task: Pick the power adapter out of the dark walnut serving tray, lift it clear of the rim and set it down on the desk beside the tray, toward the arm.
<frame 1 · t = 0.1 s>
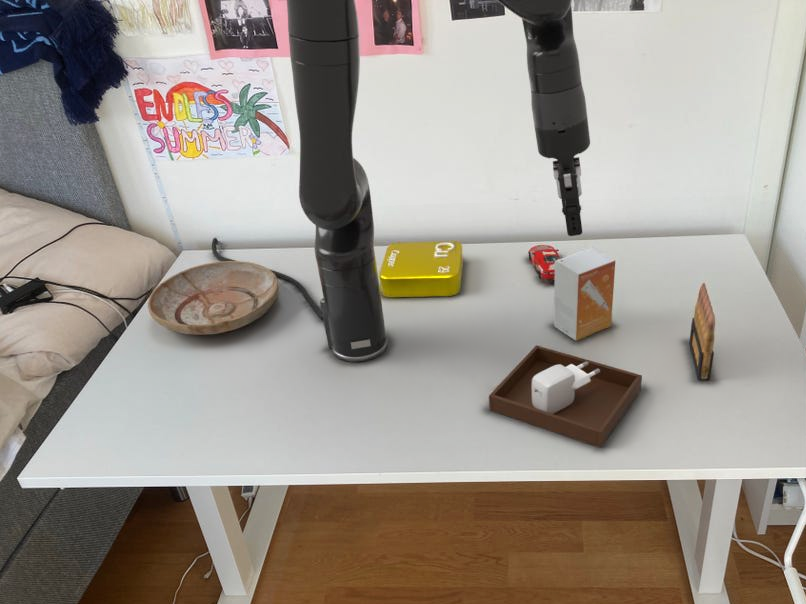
hand: (574, 222, 119), 22 cm above the table, tool pointing down, fingers open, 8 cm apart
power adapter: (565, 399, 119), resting on tray
race car: (547, 269, 154), on the table
ceramic bowl: (220, 314, 146), on the table
ammunition clip: (699, 362, 126), on the table
small box: (582, 327, 136), on the table
tray: (565, 400, 119), on the table
element tile: (423, 279, 153), on the table
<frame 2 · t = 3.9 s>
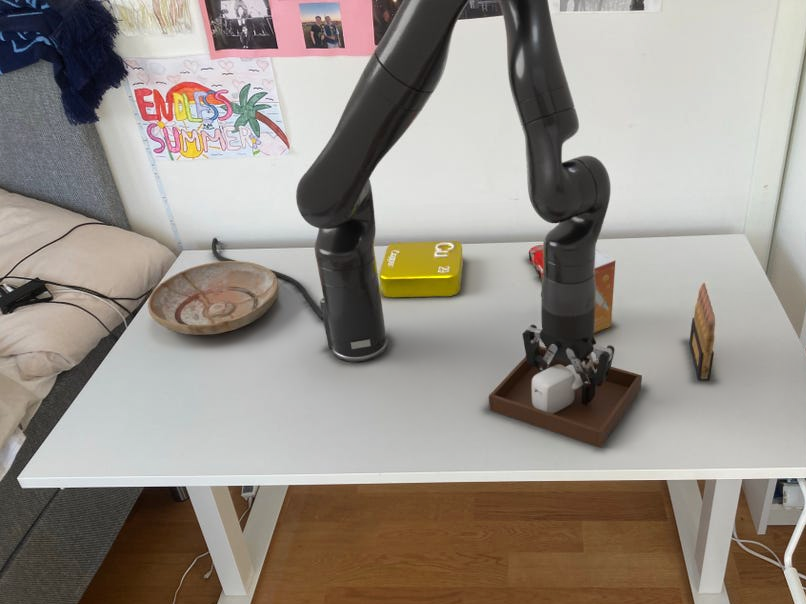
hand: (566, 395, 119), 1 cm above the table, tool pointing down, fingers closed on power adapter, 6 cm apart
power adapter: (565, 399, 119), resting on tray, touching gripper
everything else where it was.
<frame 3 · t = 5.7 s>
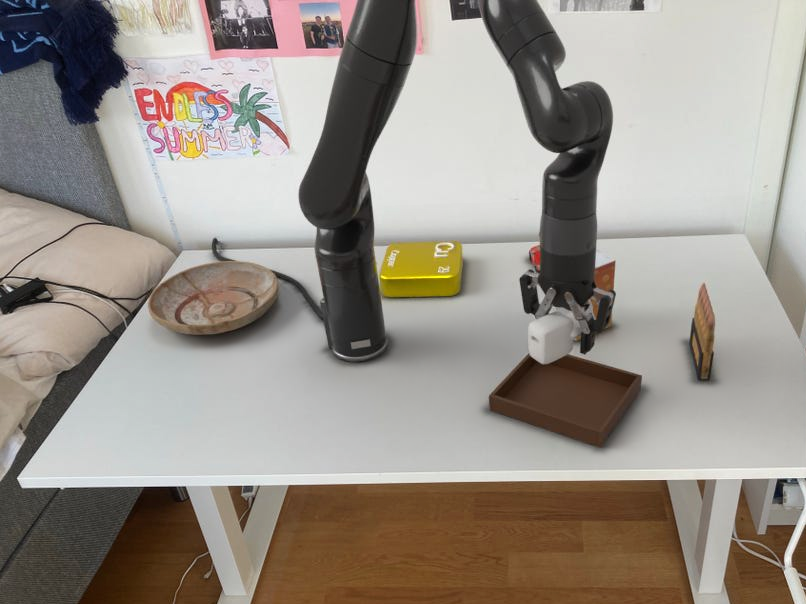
hand: (564, 344, 113), 10 cm above the table, tool pointing down, fingers closed on power adapter, 6 cm apart
power adapter: (563, 349, 114), point 9 cm above the table, touching gripper
everything else where it was.
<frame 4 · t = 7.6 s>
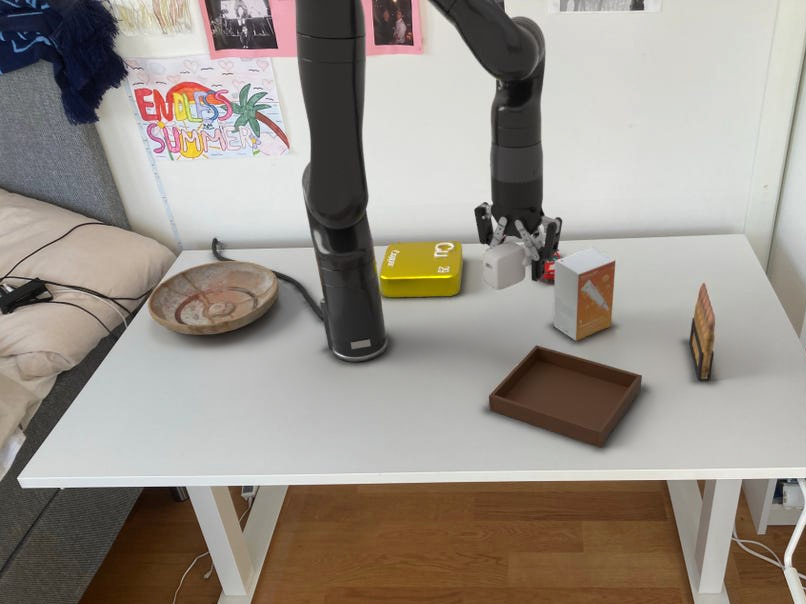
hand: (518, 273, 121), 15 cm above the table, tool pointing down, fingers closed on power adapter, 6 cm apart
power adapter: (517, 278, 122), point 14 cm above the table, touching gripper
everything else where it was.
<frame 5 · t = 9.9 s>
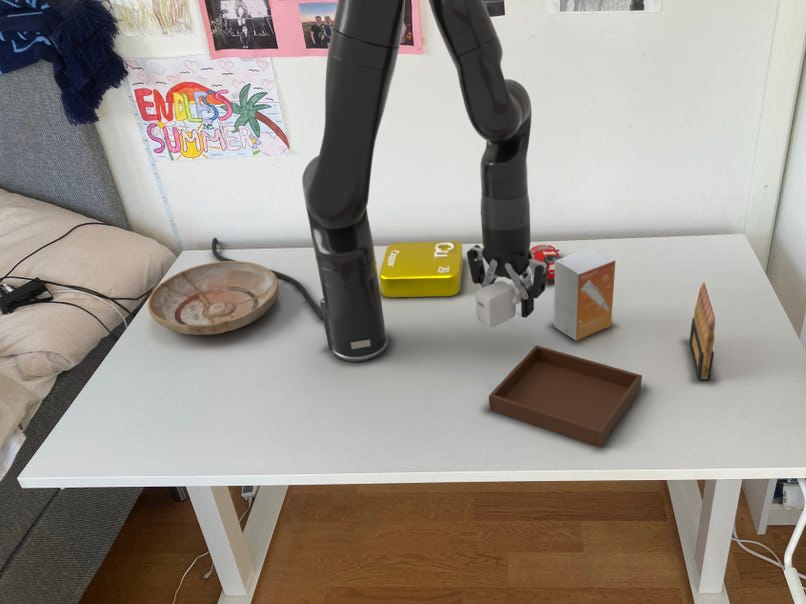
hand: (509, 310, 130), 6 cm above the table, tool pointing down, fingers closed on power adapter, 6 cm apart
power adapter: (508, 314, 130), point 5 cm above the table, touching gripper
everything else where it was.
when the fingers open (1 cm above the table, at t = 11.7 s): power adapter stays where it is, on the table.
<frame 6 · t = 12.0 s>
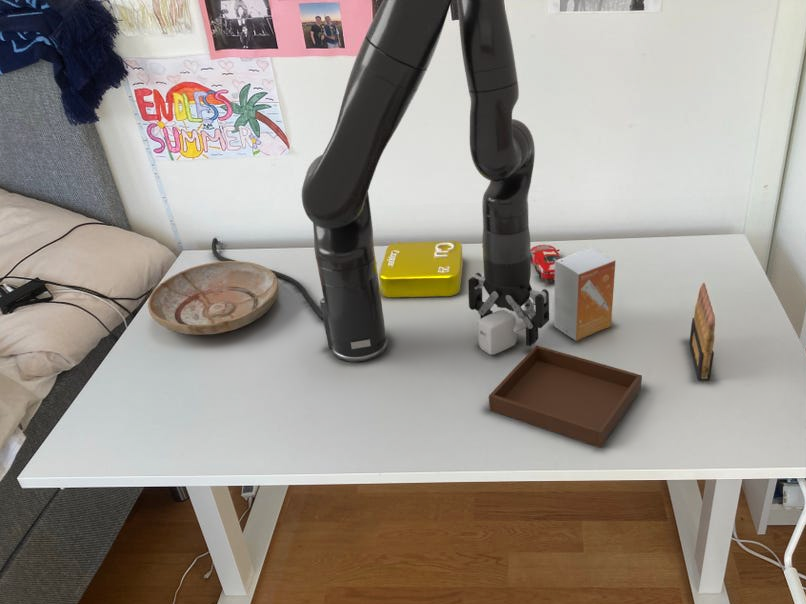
hand: (509, 337, 133), 1 cm above the table, tool pointing down, fingers open, 8 cm apart
power adapter: (509, 342, 133), on the table
everything else where it was.
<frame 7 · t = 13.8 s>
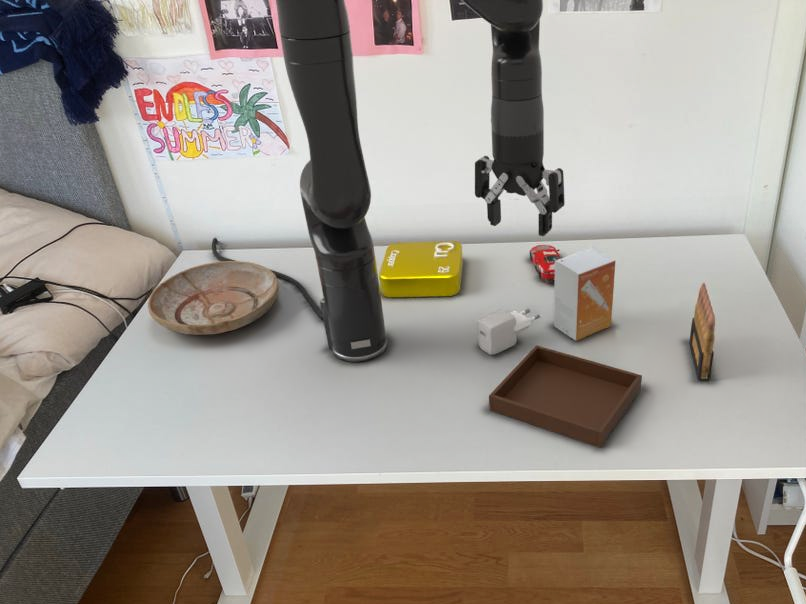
hand: (519, 228, 121), 21 cm above the table, tool pointing down, fingers open, 8 cm apart
nothing on the table moved.
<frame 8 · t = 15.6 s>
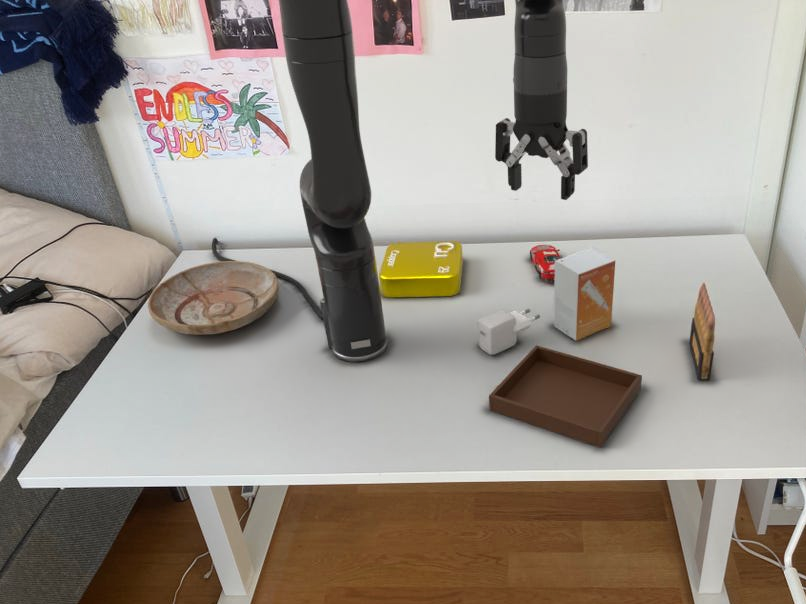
hand: (540, 193, 119), 26 cm above the table, tool pointing down, fingers open, 8 cm apart
nothing on the table moved.
at the end: power adapter inside the target area (0.3 cm from its centre), on the table; power adapter touching table; power adapter tilted 0° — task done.
